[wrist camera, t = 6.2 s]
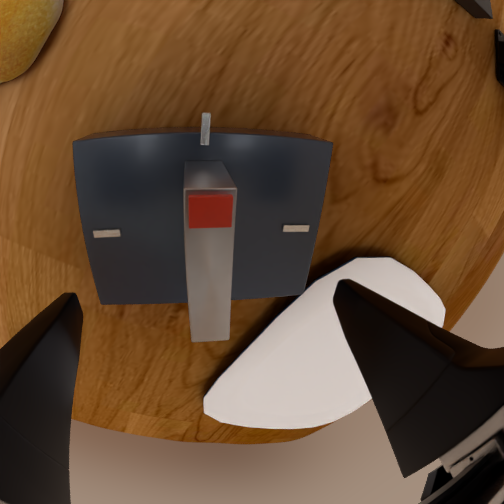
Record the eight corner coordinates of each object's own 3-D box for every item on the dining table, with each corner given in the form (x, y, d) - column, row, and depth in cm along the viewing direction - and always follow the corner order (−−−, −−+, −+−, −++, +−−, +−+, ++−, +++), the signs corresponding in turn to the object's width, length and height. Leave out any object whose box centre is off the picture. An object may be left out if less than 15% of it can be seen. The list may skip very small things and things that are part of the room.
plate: (347, 210, 18) (360, 221, 16) (451, 309, 29) (458, 317, 28) (176, 405, 26) (177, 419, 24) (327, 420, 37) (330, 429, 35)
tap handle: (217, 284, 15) (230, 344, 11) (187, 285, 14) (191, 347, 11) (222, 160, 11) (239, 190, 8) (184, 160, 11) (183, 191, 8)
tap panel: (311, 120, 14) (338, 126, 11) (286, 277, 19) (302, 307, 17) (92, 118, 11) (69, 123, 9) (112, 285, 17) (103, 317, 14)
